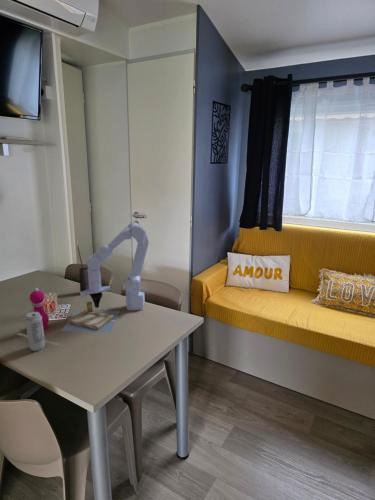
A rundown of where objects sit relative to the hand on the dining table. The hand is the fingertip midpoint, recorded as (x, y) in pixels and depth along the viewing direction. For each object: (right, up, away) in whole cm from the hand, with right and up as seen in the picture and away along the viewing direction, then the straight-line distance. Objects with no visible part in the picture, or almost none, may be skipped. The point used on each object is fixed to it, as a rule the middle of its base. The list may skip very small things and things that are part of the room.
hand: (96, 306), depth 164 cm
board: (0, -6, -7) cm, 9 cm away
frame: (0, -5, -7) cm, 9 cm away
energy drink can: (-16, -12, -28) cm, 35 cm away
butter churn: (-13, +3, +27) cm, 30 cm away
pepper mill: (-21, -8, -14) cm, 27 cm away
